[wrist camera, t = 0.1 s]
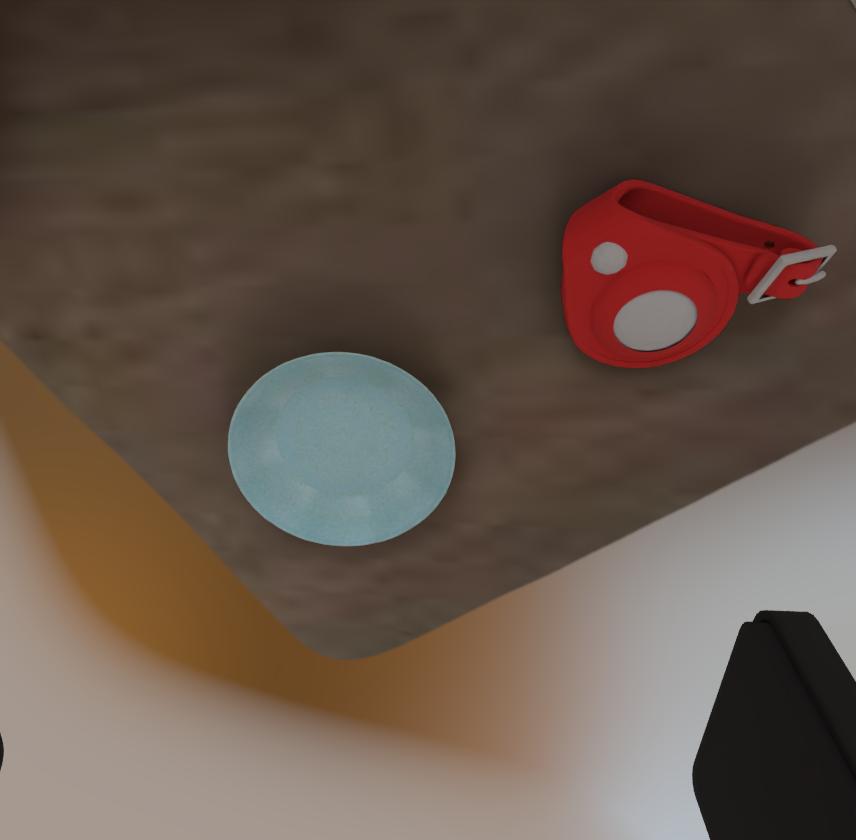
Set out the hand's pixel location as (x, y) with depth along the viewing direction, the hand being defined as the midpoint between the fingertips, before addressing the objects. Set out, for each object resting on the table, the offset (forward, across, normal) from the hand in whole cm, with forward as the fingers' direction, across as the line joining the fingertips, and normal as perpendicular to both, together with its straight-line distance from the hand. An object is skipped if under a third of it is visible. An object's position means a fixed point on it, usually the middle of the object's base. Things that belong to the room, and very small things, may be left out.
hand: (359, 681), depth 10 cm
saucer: (+31, +2, +15) cm, 35 cm away
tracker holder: (+31, -14, +5) cm, 35 cm away
